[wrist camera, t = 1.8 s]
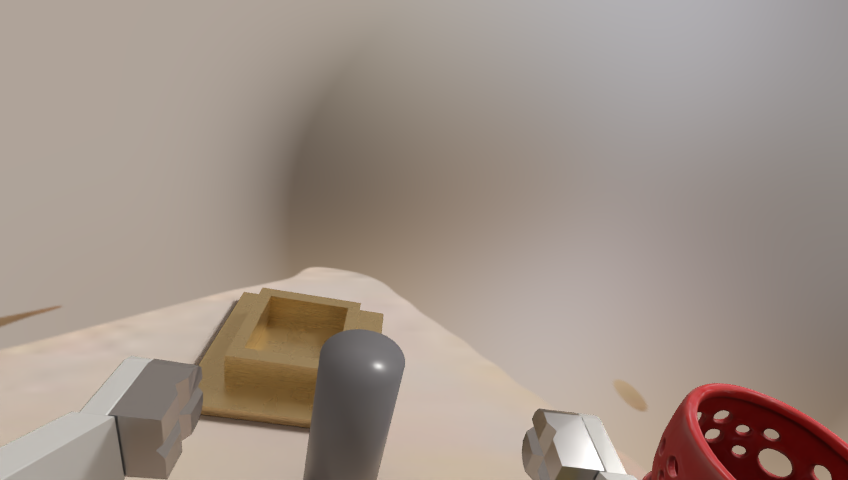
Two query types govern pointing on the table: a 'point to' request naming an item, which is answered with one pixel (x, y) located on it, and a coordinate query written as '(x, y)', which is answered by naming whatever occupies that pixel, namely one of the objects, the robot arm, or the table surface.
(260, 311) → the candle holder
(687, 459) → the plant pot
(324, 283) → the table surface
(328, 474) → the grey cylinder
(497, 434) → the table surface
